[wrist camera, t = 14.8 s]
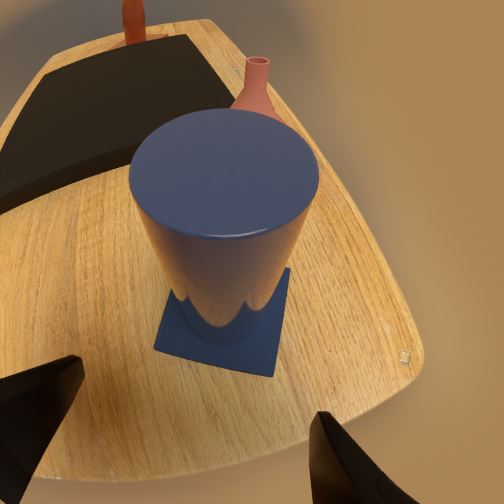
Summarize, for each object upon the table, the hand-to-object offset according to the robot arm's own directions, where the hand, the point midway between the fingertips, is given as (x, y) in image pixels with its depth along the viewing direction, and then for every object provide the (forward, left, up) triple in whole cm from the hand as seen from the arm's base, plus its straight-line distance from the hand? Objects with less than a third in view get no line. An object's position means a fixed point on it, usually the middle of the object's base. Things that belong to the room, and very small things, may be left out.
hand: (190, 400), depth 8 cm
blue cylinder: (+6, 0, -8) cm, 10 cm away
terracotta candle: (+61, +37, -8) cm, 72 cm away
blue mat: (+6, 0, -8) cm, 11 cm away
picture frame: (+34, +27, -9) cm, 44 cm away
